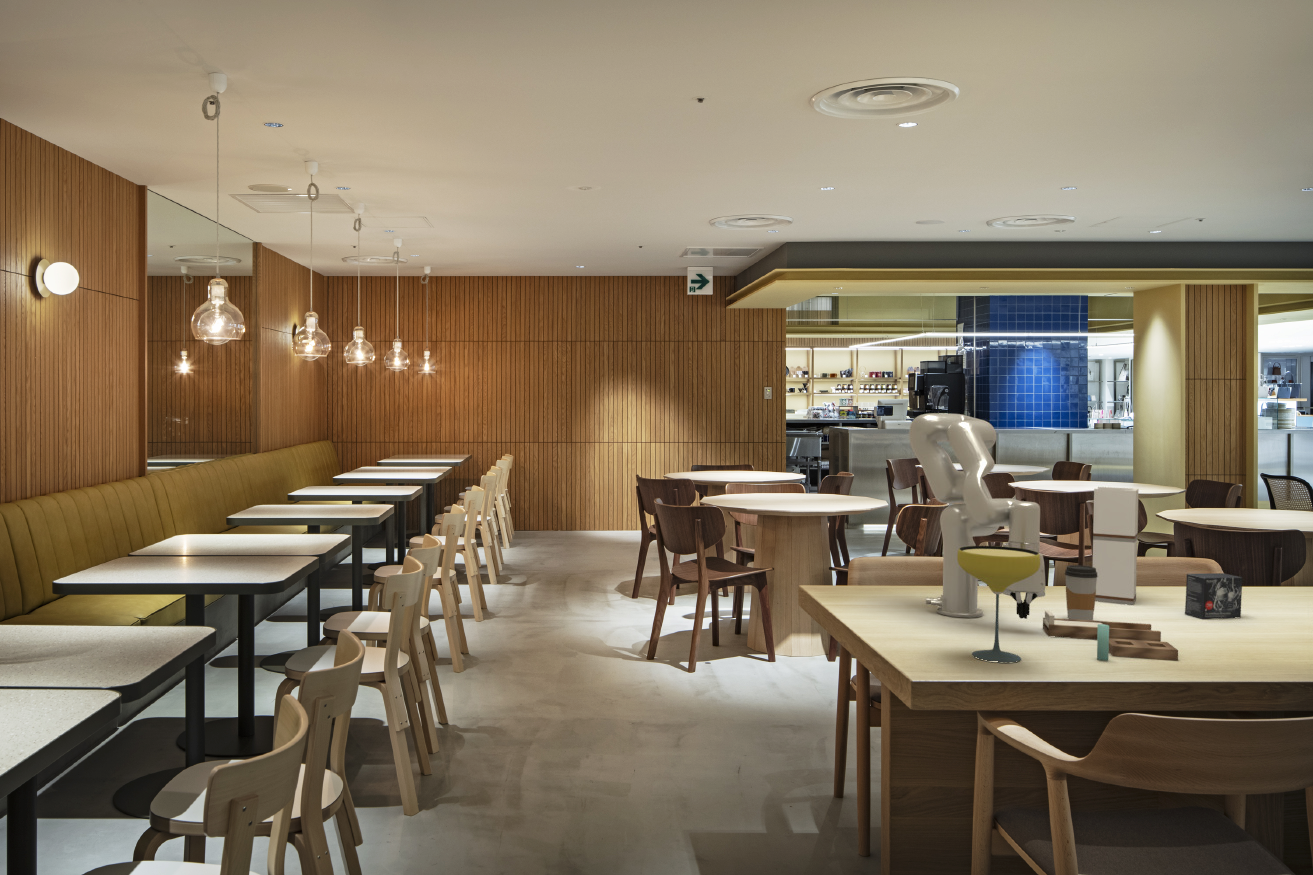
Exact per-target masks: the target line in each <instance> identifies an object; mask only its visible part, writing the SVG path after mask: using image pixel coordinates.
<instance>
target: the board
mask: <svg viewBox="0 0 1313 875" xmlns="http://www.w3.org/2000/svg"><path fill="white" fill-rule="evenodd" d="M1044 619H1045V617H1042V630H1043V629H1044V630H1043V632H1045V633H1046V634H1047V636H1048V637H1049V636H1055V637H1054V638H1064V637H1070V638H1069V639H1083V640H1095V641H1096V640H1097V633H1098V627H1087V626H1071V625H1054V624H1049V628H1048V627H1047V625H1046V624H1045V623H1044ZM1054 620H1062V621H1079V622H1096V623H1102V624H1105V625H1109V638H1112V639H1127V640H1143V641H1159V642H1162V631H1161V630H1152V624H1151V623H1138V622H1124V621H1123V622H1122V621H1107V620H1105V621H1103V620H1092V621H1091V620H1075V619H1069V618H1055V617H1054Z"/></svg>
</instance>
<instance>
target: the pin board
mask: <svg viewBox="0 0 1313 875" xmlns="http://www.w3.org/2000/svg"><path fill="white" fill-rule="evenodd" d="M1109 655H1111V656H1112V657H1122V658H1135V659H1138V658H1139V659H1151V660H1164V661H1165V660H1169V661H1178V660H1179V650H1178V649H1177V648H1176V647H1175V646H1174V645H1172V644H1171V643H1169V642H1168V641H1161V642H1159V641H1143V640H1127V639H1112V638H1109Z"/></svg>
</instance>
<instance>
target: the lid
mask: <svg viewBox="0 0 1313 875" xmlns="http://www.w3.org/2000/svg"><path fill="white" fill-rule="evenodd" d="M1044 618H1045V619H1044V623H1045V624H1046V625H1047V627H1048V628H1049V624H1054V625H1071V626H1087V627H1098V624H1102V623H1096V622H1079V621H1062V620H1054V618H1055V615H1054V613H1052V611H1050V610H1044Z"/></svg>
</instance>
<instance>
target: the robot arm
mask: <svg viewBox="0 0 1313 875" xmlns="http://www.w3.org/2000/svg"><path fill="white" fill-rule="evenodd" d="M908 430H909V432H908V438H909V444H910V447H911V449H912V452H913V453H914V455H915V457H916V459H917V460H918V462H919V464H920V466H921V468H922V470H923V472H924V474H925V478H926V480H927V482H928V484H929V486H930V489H931V492H932V494H933V496H934V497H935V500H936V501H937V502H939V503H941V504H950V505H948V506H947V507H945V508H944V509H943V510H942V511H941V513H940V517H939V518H940V519H939V524H940V529H941V535H942V544H943V546H942V547H943V551H942V552H943V553H942V554H943V555H942V556H943V558H942V560H943V561H942V562H943V564H942V565H943V566H942V567H943V568H942V594H940V596H938V597H936V598H934V597H925V604H926V605H930V606H937V608H936V612H937V613H938V614H940V615H943V616H947V617H952V618H964V619H965V618H966V619H968V618H973V619H974V618H979V617H982V616H984V611H983V610H982V609H980V608H979V607H978V594H979V593H978V591H979V590H978V589H979V587H978V585H979V584H978V583H979V579H977V578H975V577H974V576H972V575H970V574H969V573H967V572H966V571H964V570H963V569H962V568H961V567H960V566H959V564H958V559H957V555H958V550H959V548H961V547H966V546H977V545H976V543H975V541H974V538H973V537H986V536H990V535H991V536H992V535H994V534H995V533H996V532H997V531H998V530H999V528H1000V527H1008V541H1007V542H1003V543H1002V547H1013V548H1021V549H1027V550H1032V551H1036V552H1038V553H1039V555H1040V567H1039V569H1038V571H1037V572H1036V573H1035V574H1033V575H1032V576H1030V577H1028V578H1026V579H1024V580H1021V581H1019V582H1016V583H1014V584H1012V585H1010V586H1008V587H1007V588H1006V589H1005V591H1004V592H1003V593H1002V594H1003V595H1006V596H1009V597H1011V598H1012V599H1014V601H1015V602H1016V615H1018V617H1019V618H1020V619H1026V620H1027V619H1028V616H1030V610H1031V609H1030V606H1031V603H1032V602H1033V601H1034V600H1035V599H1036V598H1042V597H1043V598H1044V597H1045V596H1046V571H1045V570H1046V569H1045V568H1046V567H1045V561H1044V555H1043V554H1042V553H1040V541H1041V540H1040V537H1041V536H1040V534H1041V506H1040V504H1038V503H1037V502H1033V501H1024V500H1018V499H1016V498H1015V499H1014V498H1009V497H1008V498H993V497H992V495H991V492H990V490H989V488H988V487H987V486H988V485H987V484H986V482H985V480H984V479H983V477H985V476H987V475H988V474H989V473H990V472H992V470H993V469H994V468H995V460H994V459H993V457H992V455H991V454H990V451H989V449H991V448H992V447H993V446H994V445H995V444H996V441H997V433H996V430H995V428H994V426H993V425H992V424H991V423H990V422H988V421H986V420H984V419H980V418H976V417H972V416H968V415H965V414H960V413H938V412H937V413H936V412H934V413H932V412H931V413H924V414H920V415H918V416H916V417H915V418H914V419H913V420H912V422H911V423H910V426H909V429H908ZM939 442H942V443H947V442H948V443H949V445H950V448H951V449H952V451H953V453H954V455H955V457H956V459H957V462H958V463H959V465H960V466H961V469H962V470H957V468H956V467H955V465H954V464H953V462H952V459H951V457H950V455H949V454H948V452H947V451H946V450H945V449H944V448H943V447H942V446H941V445H939V444H938V443H939ZM1021 593H1025V596H1024V599H1023V600H1022V594H1021Z"/></svg>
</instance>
